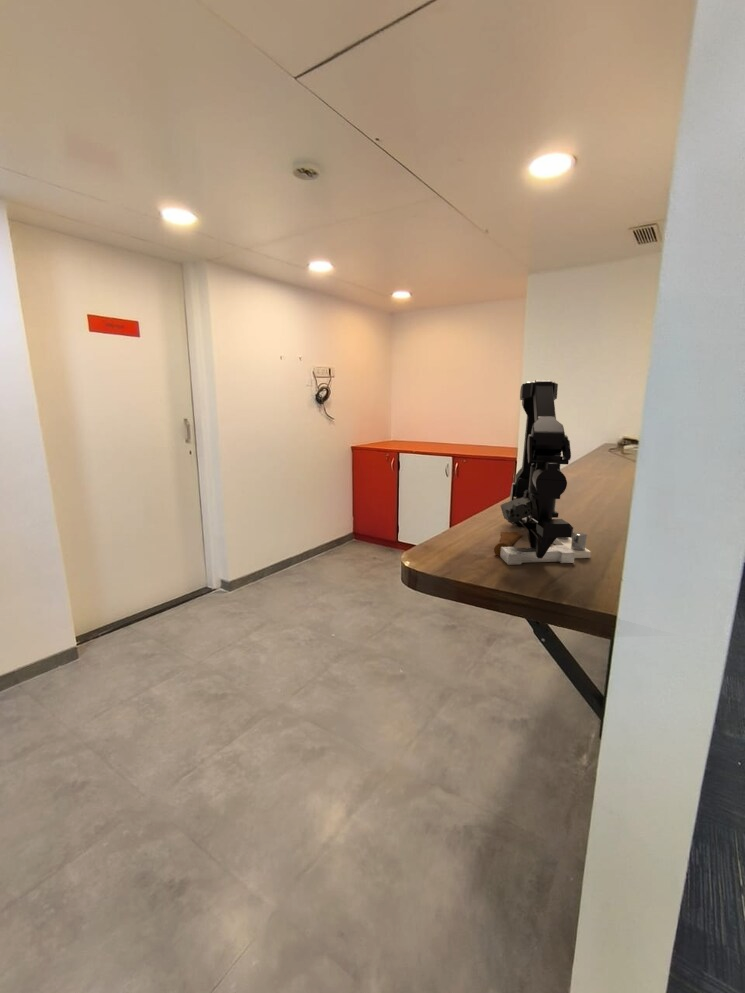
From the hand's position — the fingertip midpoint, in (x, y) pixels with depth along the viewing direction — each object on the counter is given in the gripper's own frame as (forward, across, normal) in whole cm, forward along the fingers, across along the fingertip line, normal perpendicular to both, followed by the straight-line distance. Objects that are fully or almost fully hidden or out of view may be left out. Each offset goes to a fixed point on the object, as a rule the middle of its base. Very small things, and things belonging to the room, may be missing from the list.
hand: (536, 555), depth 100 cm
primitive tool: (+2, -12, -3) cm, 12 cm away
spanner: (+1, 0, 0) cm, 1 cm away
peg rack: (+1, -7, +11) cm, 13 cm away
